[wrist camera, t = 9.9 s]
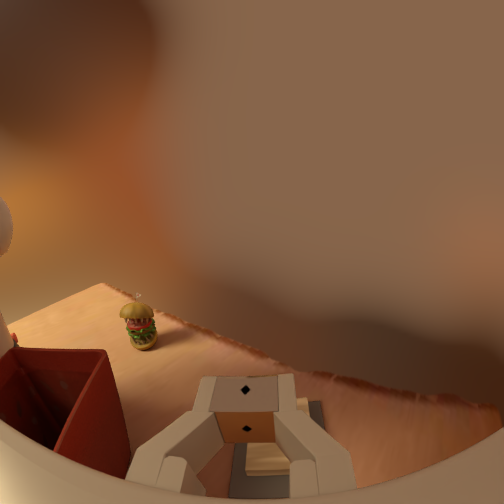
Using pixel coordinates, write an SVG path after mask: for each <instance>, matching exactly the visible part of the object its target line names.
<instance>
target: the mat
mask: <svg viewBox="0 0 504 504" xmlns="http://www.w3.org/2000/svg"><path fill="white" fill-rule="evenodd" d="M308 407H309V415H310V418H311V419H312V420H314V421H315V422H316V423H317V424H318V425H319V426H320V427H321V428H322V429H323V430H325V428H324V422H323V416H322V411H321V405H320V401H313V402H308ZM247 444H248V443H235V449H234V457H233V465H232V473H231V481H230V489H229V496H228V497H229V498H236V499H277V498H289V476H290V474H289V475H271V476H247V474H246V471H245V466H246V455H247Z"/></svg>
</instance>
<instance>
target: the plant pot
mask: <svg viewBox="0 0 504 504" xmlns="http://www.w3.org/2000/svg"><path fill="white" fill-rule="evenodd" d="M0 419H1V420H2V421H3V422H5V423H6V424H8V425H9V426H11V427H12V428H14V429H15V430H17V431H18V432H20V433H22V434H23V435H25V436H27V437H28V438H30V439H32V440H33V441H35V442H37V443H39V444H40V445H42V446H44V447H46V448H48V449H50V450H52V451H54V452H56V453H58V454H60V455H62V456H64V457H66V458H68V459H70V460H73V461H75V462H77V463H80V464H82V465H84V466H87V467H89V468H92V469H95V470H97V471H100V472H103V473H105V474H108V475H111V476H114V477H117V478H120V479H124V480H125V477H126V473H127V468H128V464H129V459H130V455H131V452H130V444H129V439H128V434H127V429H126V424H125V420H124V415H123V411H122V407H121V402H120V398H119V394H118V391H117V387H116V383H115V379H114V375H113V372H112V368H111V365H110V362H109V358H108V355H107V352H106V351H105V350H103V349H45V348H24V347H13V348H11V349H9V350H8V351H7V352H6V353H5V354H4V355H3V356H2V357H1V358H0Z"/></svg>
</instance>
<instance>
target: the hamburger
mask: <svg viewBox="0 0 504 504" xmlns="http://www.w3.org/2000/svg"><path fill="white" fill-rule="evenodd" d="M139 296H141V295H140V294H138V293H136V300H137V298H138V297H139ZM120 317H121V318H124V319H125V323H126V324H127V327H126V329H127V330H128V335H129V336H131V337H130V341H131V344H132V346H133V347H135V348H136V349H139V350H146V349H149V348H150V347H152V346H153V345H154V344H155V342H156V340H157V331H156V327H155V324H154V323H155V321H154V319H153V318H152V317H154V313H153V310H152V309H151V308H150V307H149V306H148V305H146V304H143V303H137V302H135V303H129V304H126V305H124V306H123V307H122V308H121V310H120ZM127 318H128V319H129V321H128V323H127ZM131 318H132V319H131Z"/></svg>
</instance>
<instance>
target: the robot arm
mask: <svg viewBox="0 0 504 504" xmlns="http://www.w3.org/2000/svg"><path fill="white" fill-rule="evenodd" d="M12 231H13V225H12V217H11V214H10V211H9V208H8V206H7V204H6V203H5V201H4V200H3V199H2V198H1V197H0V257H1V256H2V255H4V254H5V253H6V252H7V251H8V249H9V246H10V243H11V239H12ZM17 343H18V339H17V337H16V334H15V333H12V334H10V333H9V331H8V328H7V326H6V324H5V322H4V319H3V317H2V314H1V312H0V358H1V357H2V356H3V355H4V354H5V353H6V352H7V351H8V350H9V349H11V348H13V347H19V345H18V344H17ZM224 443H276V445H277V446H278V447H279V448H280V450H281V451H282V452H283V454H284V455H285V456H286V457H287V459H288V460H289V461H290V462H291V464H290V476H289V498H287V499H229V498H216V497H206V489H205V488H204V486H203V485H202V483H201V482H200V480H199V479H198V478H197V476H196V475H197V474H198V473H199V472H200V471H201V470H202V469H203V468H204V467H205V465H206V464H207V463H208V462H209V461H210V460H211V459H212V458H213V457H214V456H215V455H216V453H217V452H218V451H219V450H220V449H221V448H222V447H223V445H224ZM0 504H504V427H503V428H501V429H500V430H498V431H497V432H495V433H493V434H492V435H490V436H489V437H487V438H485V439H484V440H482V441H480V442H478V443H477V444H475V445H473V446H471V447H469V448H467V449H466V450H464V451H462V452H460V453H458V454H456V455H454V456H452V457H449V458H447V459H445V460H443V461H441V462H438V463H436V464H434V465H431V466H429V467H426V468H424V469H421V470H419V471H416V472H413V473H410V474H408V475H405V476H402V477H399V478H396V479H392V480H389V481H386V482H382V483H378V484H375V485H371V486H367V487H363V488H358V489H357V485H356V480H355V475H354V470H353V465H352V460H351V456H350V452H349V451H348V450H346V449H345V448H344V447H343V446H342V445H341V444H339V443H338V442H337V441H336V440H335V439H334V438H332V437H331V436H330V435H329V434H328V433H327V432H326V431H325V430H323V429H322V428H321V427H320V426H319V425H318V424H317V423H316V422H315V421H314V420H312V419H311V418H310V417H309V416H308V415H307V414H306V413H305V412H304V411H303V410H297V400H296V390H295V380H294V375H293V373H290V374H278V376H277V375H264V376H203V377H202V378H201V381H200V384H199V388H198V391H197V395H196V398H195V402H194V405H193V409H192V411H187V412H185V413H184V414H183V415H182V416H180V417H179V418H178V419H176V420H175V421H174V422H173V423H171V424H170V425H169V426H167V427H166V428H165V429H163V430H162V431H161V432H159V433H158V434H157V435H155V436H154V437H152V438H151V439H150V440H148V441H147V442H145V443H144V444H143V445H141V446H140V447H138V448H137V450H136V453H135V455H134V458H133V460H132V463H131V465H130V468H129V470H128V473H127V475H126V478H125V480H124V479H120V478H117V477H114V476H111V475H108V474H105V473H103V472H100V471H97V470H95V469H92V468H89V467H87V466H84V465H82V464H80V463H77V462H75V461H73V460H70V459H68V458H66V457H64V456H62V455H60V454H58V453H56V452H54V451H52V450H50V449H48V448H46V447H44V446H42V445H40V444H39V443H37V442H35V441H33V440H32V439H30V438H28V437H27V436H25V435H23V434H22V433H20V432H18V431H17V430H15V429H14V428H12V427H11V426H9V425H8V424H6V423H5V422H3V421H2V420H1V419H0Z"/></svg>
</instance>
